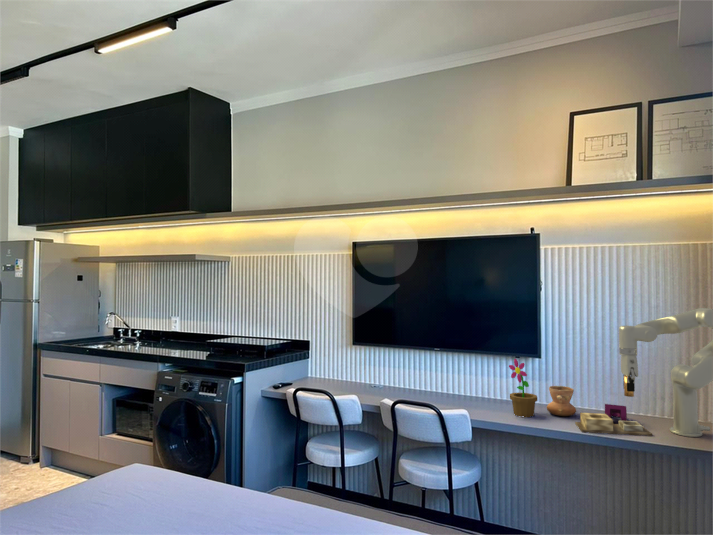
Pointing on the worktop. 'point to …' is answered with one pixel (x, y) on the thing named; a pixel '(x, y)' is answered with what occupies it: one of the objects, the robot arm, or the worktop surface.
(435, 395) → the worktop surface
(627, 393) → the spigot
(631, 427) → the docking station
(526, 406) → the flowerpot
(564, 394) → the ceramic jug
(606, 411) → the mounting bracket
